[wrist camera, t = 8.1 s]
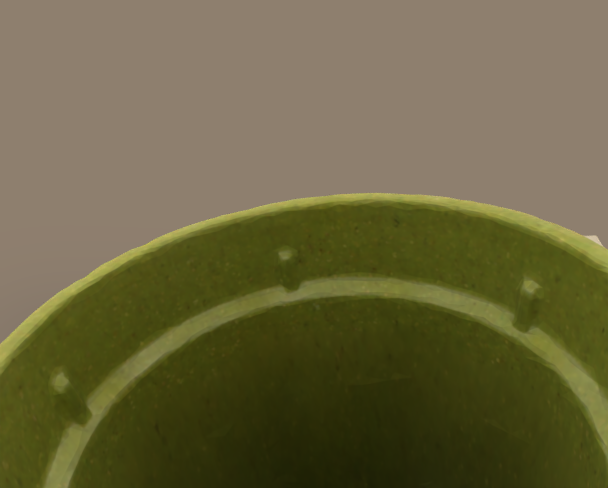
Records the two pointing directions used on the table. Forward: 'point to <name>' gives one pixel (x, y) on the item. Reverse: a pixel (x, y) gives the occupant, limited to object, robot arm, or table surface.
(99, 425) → the plant pot
